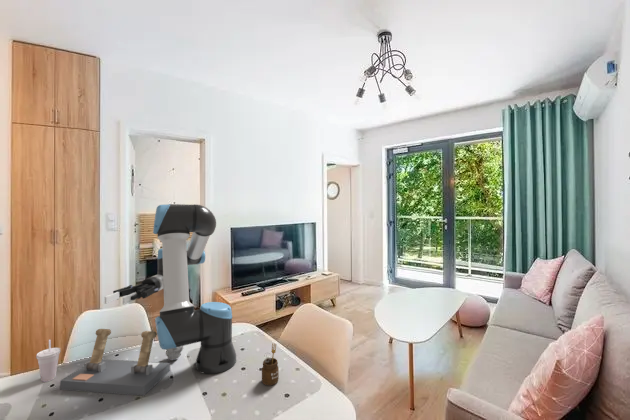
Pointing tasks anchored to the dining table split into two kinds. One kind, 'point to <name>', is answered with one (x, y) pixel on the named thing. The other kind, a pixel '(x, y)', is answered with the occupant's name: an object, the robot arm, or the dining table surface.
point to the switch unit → (116, 377)
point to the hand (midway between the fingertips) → (114, 300)
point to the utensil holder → (270, 369)
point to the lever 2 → (145, 351)
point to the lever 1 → (98, 348)
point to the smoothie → (48, 363)
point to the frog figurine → (174, 352)
